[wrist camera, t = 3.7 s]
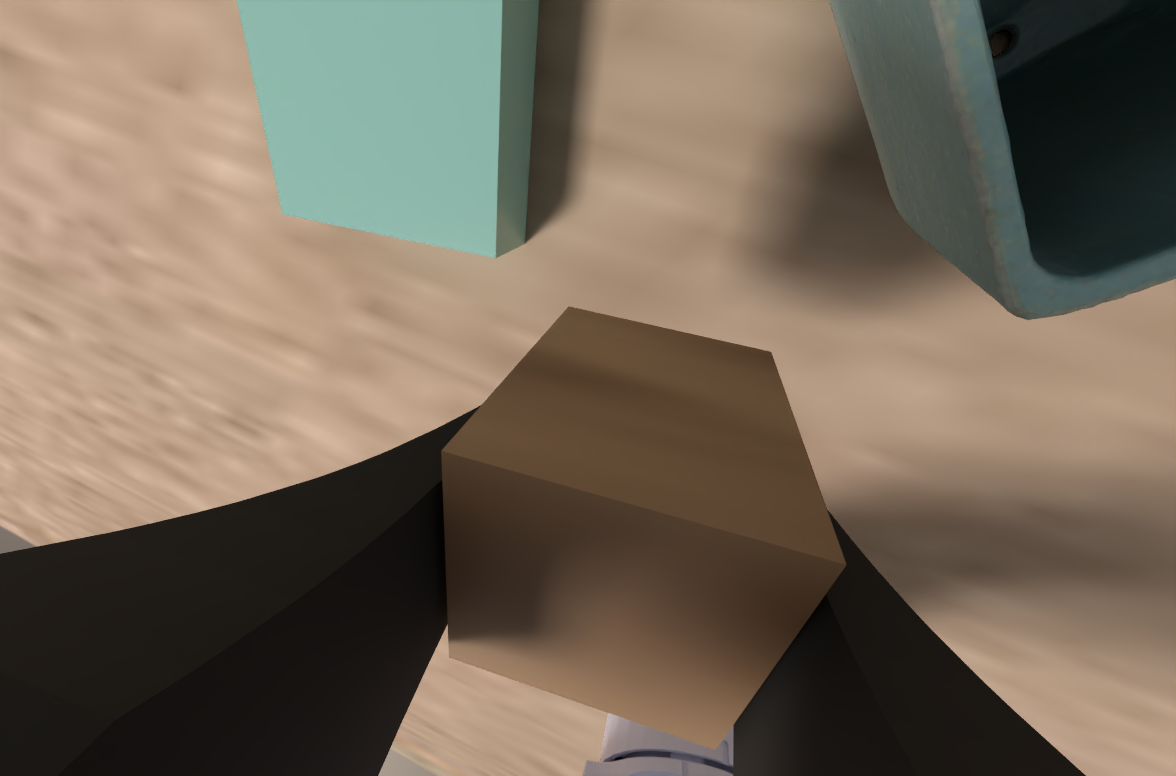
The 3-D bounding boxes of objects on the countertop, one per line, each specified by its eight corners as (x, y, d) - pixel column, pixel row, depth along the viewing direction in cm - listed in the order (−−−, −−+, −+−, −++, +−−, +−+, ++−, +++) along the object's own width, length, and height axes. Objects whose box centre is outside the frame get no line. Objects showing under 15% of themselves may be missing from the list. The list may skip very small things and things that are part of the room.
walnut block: (709, 502, 11) (715, 750, 7) (549, 458, 12) (448, 657, 7) (770, 351, 9) (846, 564, 4) (568, 306, 10) (441, 451, 5)
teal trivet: (528, 241, 16) (495, 258, 14) (344, 205, 17) (282, 214, 15) (545, -41, 12) (504, -92, 10) (304, -66, 13) (211, -118, 11)
